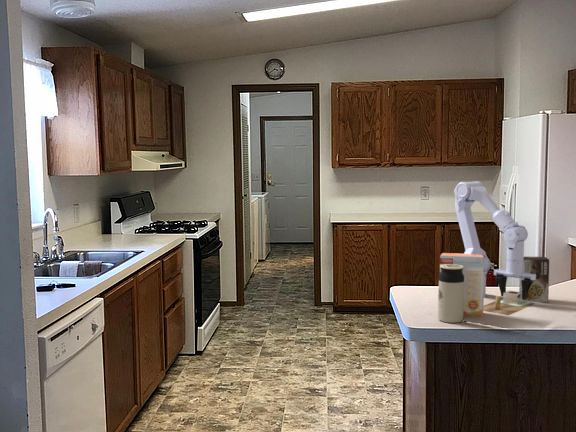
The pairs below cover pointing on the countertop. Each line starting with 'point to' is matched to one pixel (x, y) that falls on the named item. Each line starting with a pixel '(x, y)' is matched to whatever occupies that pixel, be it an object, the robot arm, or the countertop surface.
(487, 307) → the board
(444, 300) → the travel mug
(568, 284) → the countertop surface
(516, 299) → the white square frame
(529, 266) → the coffee box
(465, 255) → the cracker box
